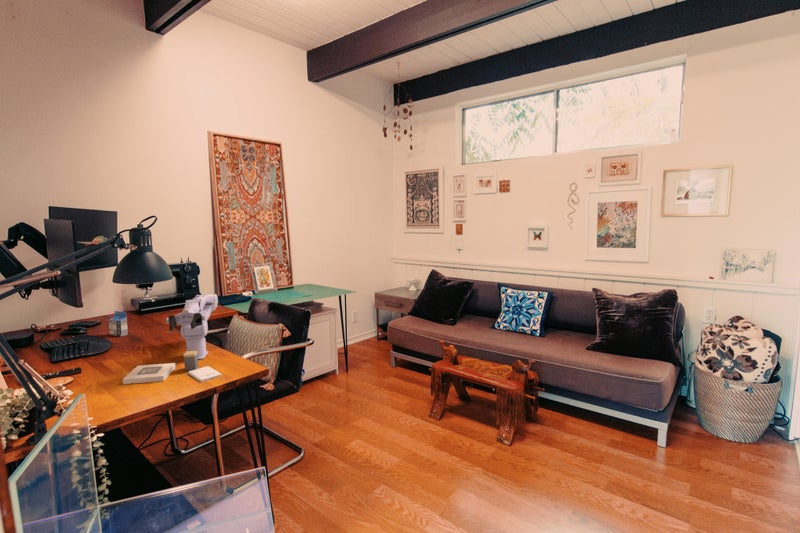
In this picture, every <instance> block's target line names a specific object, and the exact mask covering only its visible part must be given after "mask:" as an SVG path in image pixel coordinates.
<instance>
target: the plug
mask: <svg viewBox="0 0 800 533" xmlns="http://www.w3.org/2000/svg"><path fill="white" fill-rule="evenodd" d="M197 353H198V351H187V350H186V351H185V352H184V354H183V359H184V360H183V362H184V371H185V372H189V371H192V370H196V369H199V361H198V360H199V359H198V356H197Z"/></svg>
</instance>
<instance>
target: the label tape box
mask: <svg viewBox="0 0 800 533" xmlns="http://www.w3.org/2000/svg"><path fill="white" fill-rule="evenodd" d="M108 326H109V327H108V328H109V335H110V336H115V337H126V336H128V335H129V332H128V331H129V330H128V317H127V312H125V311H117V310H114V316H112V317H111V318H109V319H108Z"/></svg>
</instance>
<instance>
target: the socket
mask: <svg viewBox="0 0 800 533" xmlns="http://www.w3.org/2000/svg"><path fill="white" fill-rule="evenodd" d="M176 368H177V367H176V362H171V363H158V364H157V363H156V364H155V363H154V364H144V365H140V364H139V365H137V366H135V368H133V369H132V370H131V371H130V372H129V373H127V375H126V376H125V377H123V378H122V385H130V384H131V383H133V384H143V383H155V382H165V381H166V380H167V378H168V377H169V376H170V375H171V373H172V372H173V371H174V370H175V369H176ZM131 385H132V384H131Z"/></svg>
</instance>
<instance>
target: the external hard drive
mask: <svg viewBox="0 0 800 533" xmlns="http://www.w3.org/2000/svg"><path fill="white" fill-rule="evenodd" d="M187 374H188V375H189V376H191V377H192V378H194V380H195V379H196V380H197V381H198V382H200V383H204V382H207V381H210V380H214V379H218V378H220V377H223V373H220V371H218V370H216V369H214V368H212V367H210V366H209V365H207V366H203V367H198V368H197V369H196V370H192V371H187Z"/></svg>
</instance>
